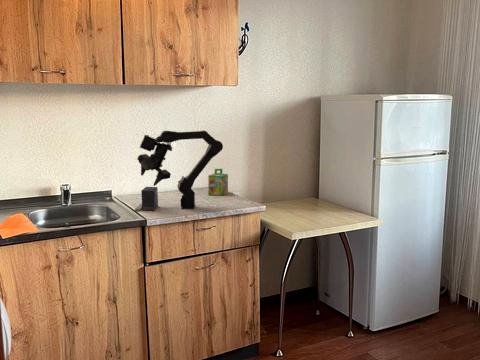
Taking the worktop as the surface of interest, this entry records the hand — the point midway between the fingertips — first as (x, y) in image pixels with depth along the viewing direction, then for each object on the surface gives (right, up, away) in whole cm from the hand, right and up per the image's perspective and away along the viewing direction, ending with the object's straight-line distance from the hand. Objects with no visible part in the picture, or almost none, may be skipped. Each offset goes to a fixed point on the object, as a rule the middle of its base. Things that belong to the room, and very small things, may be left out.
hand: (147, 180), depth 235 cm
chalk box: (+34, -8, +34) cm, 49 cm away
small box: (+1, -14, 0) cm, 15 cm away
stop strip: (-4, -14, 0) cm, 15 cm away
